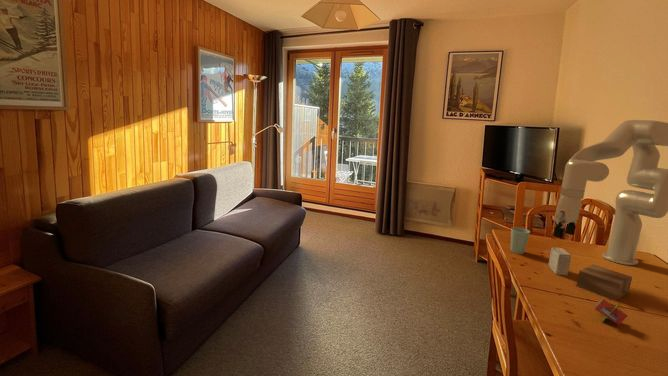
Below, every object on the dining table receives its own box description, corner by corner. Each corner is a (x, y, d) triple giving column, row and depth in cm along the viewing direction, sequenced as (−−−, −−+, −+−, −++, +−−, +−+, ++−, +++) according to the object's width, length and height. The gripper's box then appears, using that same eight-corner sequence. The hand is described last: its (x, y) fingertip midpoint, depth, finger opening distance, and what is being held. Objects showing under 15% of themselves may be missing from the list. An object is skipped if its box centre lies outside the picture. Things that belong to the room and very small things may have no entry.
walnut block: (590, 278, 135) (593, 264, 134) (628, 292, 125) (632, 276, 124) (576, 285, 129) (579, 270, 127) (615, 300, 119) (619, 284, 118)
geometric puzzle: (634, 319, 104) (619, 293, 106) (630, 327, 99) (613, 299, 101) (608, 323, 109) (593, 298, 111) (602, 331, 104) (587, 305, 106)
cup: (525, 250, 163) (528, 228, 161) (527, 256, 156) (531, 233, 154) (507, 247, 165) (510, 226, 163) (509, 253, 158) (512, 231, 156)
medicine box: (567, 276, 137) (572, 255, 135) (555, 274, 138) (559, 253, 136) (559, 268, 144) (563, 248, 143) (547, 266, 145) (551, 246, 144)
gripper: (571, 190, 142) (563, 230, 146) (550, 192, 133) (542, 235, 136) (592, 194, 136) (583, 235, 140) (572, 197, 127) (563, 241, 130)
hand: (563, 235), depth 138 cm, fingers open, 9 cm apart
